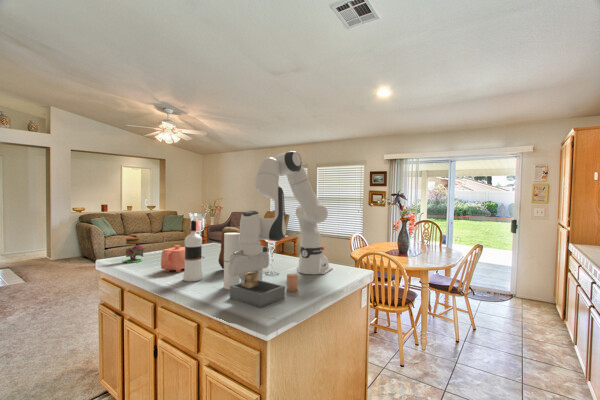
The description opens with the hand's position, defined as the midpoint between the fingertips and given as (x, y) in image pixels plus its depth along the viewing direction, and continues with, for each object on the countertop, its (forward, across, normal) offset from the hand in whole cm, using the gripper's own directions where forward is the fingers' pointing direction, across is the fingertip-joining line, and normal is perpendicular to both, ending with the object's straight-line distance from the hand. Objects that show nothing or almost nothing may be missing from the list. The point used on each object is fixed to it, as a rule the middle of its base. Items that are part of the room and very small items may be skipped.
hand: (249, 281), depth 123 cm
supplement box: (+6, +16, +14) cm, 22 cm away
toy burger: (+6, -1, +107) cm, 107 cm away
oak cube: (+2, 0, 0) cm, 2 cm away
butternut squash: (+6, +23, +40) cm, 47 cm away
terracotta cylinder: (+6, +17, -10) cm, 21 cm away
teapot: (+6, +5, +65) cm, 66 cm away
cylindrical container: (+6, +3, +15) cm, 17 cm away
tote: (+6, 0, -5) cm, 8 cm away
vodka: (+6, -1, +40) cm, 41 cm away
